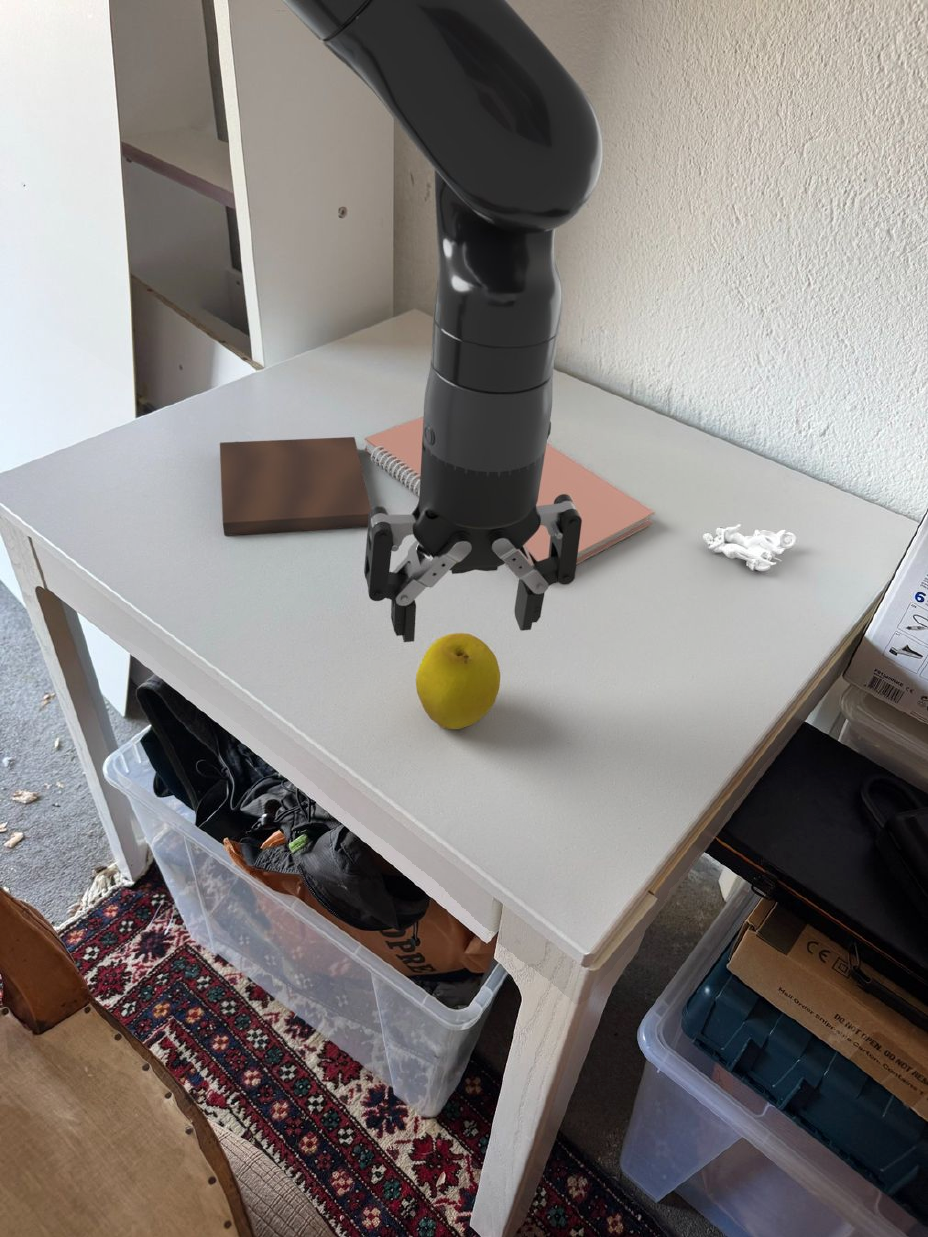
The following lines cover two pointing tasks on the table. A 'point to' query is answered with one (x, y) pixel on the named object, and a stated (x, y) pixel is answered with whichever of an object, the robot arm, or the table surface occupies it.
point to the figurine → (751, 545)
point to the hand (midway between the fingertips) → (464, 628)
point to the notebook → (594, 498)
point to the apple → (458, 680)
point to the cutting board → (292, 486)
